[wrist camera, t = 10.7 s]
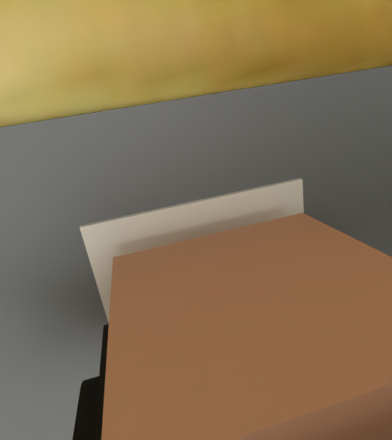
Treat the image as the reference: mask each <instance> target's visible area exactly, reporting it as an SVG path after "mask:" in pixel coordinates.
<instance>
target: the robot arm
mask: <svg viewBox="0 0 392 440" xmlns="http://www.w3.org/2000/svg"><path fill="white" fill-rule="evenodd" d="M108 328H109V324H106V325H104V327H103V337H102V349H101V360H100V372H99V376H97V377H94V378H90V379H87V380H83V382H82V383H81V387H80V393H79V400H78V406H77V413H76V419H75V426H74V432H73V439H72V440H101V437H102V422H103V406H104V391H105V375H106V359H107V344H108Z"/></svg>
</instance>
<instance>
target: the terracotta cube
mask: <svg viewBox="0 0 392 440" xmlns="http://www.w3.org/2000/svg"><path fill="white" fill-rule="evenodd" d="M101 440H392V257H390V256H388V255H386V254H384V253H382V252H380V251H378V250H376V249H374V248H372V247H370V246H368V245H366V244H364V243H362V242H360V241H358V240H356V239H354V238H352V237H350V236H348V235H346V234H344V233H342V232H340V231H338V230H336V229H334V228H332V227H330V226H328V225H326V224H324V223H322V222H320V221H318V220H316V219H314V218H312V217H310V216H308V215H306V214H304V213H299V214H295V215H291V216H287V217H282V218H278V219H274V220H270V221H265V222H261V223H257V224H253V225H248V226H244V227H240V228H236V229H231V230H227V231H223V232H219V233H214V234H210V235H206V236H202V237H197V238H193V239H189V240H185V241H180V242H176V243H172V244H168V245H163V246H159V247H155V248H151V249H146V250H142V251H138V252H134V253H129V254H125V255H121V256H117V257H113V266H112V281H111V297H110V313H109V328H108V344H107V359H106V375H105V391H104V406H103V422H102V437H101Z"/></svg>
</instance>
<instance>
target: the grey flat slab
mask: <svg viewBox="0 0 392 440" xmlns="http://www.w3.org/2000/svg"><path fill="white" fill-rule="evenodd" d="M299 213H304V214H306V215H308V216H310V217H312V218H314V219H316V220H318V221H320V222H322V223H324V224H326V225H328V226H330V227H332V228H334V229H336V230H338V231H340V232H342V233H344V234H346V235H348V236H350V237H352V238H354V239H356V240H358V241H360V242H362V243H364V244H366V245H368V246H370V247H372V248H374V249H376V250H378V251H380V252H382V253H384V254H386V255H388V256H390V257H392V66H386V67H380V68H373V69H367V70H361V71H354V72H348V73H342V74H335V75H329V76H323V77H316V78H310V79H304V80H297V81H291V82H285V83H278V84H272V85H266V86H259V87H253V88H247V89H240V90H234V91H228V92H221V93H215V94H209V95H202V96H196V97H190V98H183V99H177V100H171V101H164V102H158V103H152V104H145V105H139V106H133V107H126V108H120V109H114V110H107V111H101V112H95V113H88V114H82V115H76V116H69V117H63V118H57V119H50V120H44V121H38V122H31V123H25V124H19V125H12V126H6V127H0V440H72V439H73V432H74V426H75V419H76V413H77V406H78V400H79V393H80V387H81V383H82V382H83V380H87V379H90V378H94V377H97V376H99V372H100V360H101V349H102V337H103V327H104V325H106V324H109V313H110V297H111V281H112V266H113V257H117V256H121V255H125V254H129V253H134V252H138V251H142V250H146V249H151V248H155V247H159V246H163V245H168V244H172V243H176V242H180V241H185V240H189V239H193V238H197V237H202V236H206V235H210V234H214V233H219V232H223V231H227V230H231V229H236V228H240V227H244V226H248V225H253V224H257V223H261V222H265V221H270V220H274V219H278V218H282V217H287V216H291V215H295V214H299Z"/></svg>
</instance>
